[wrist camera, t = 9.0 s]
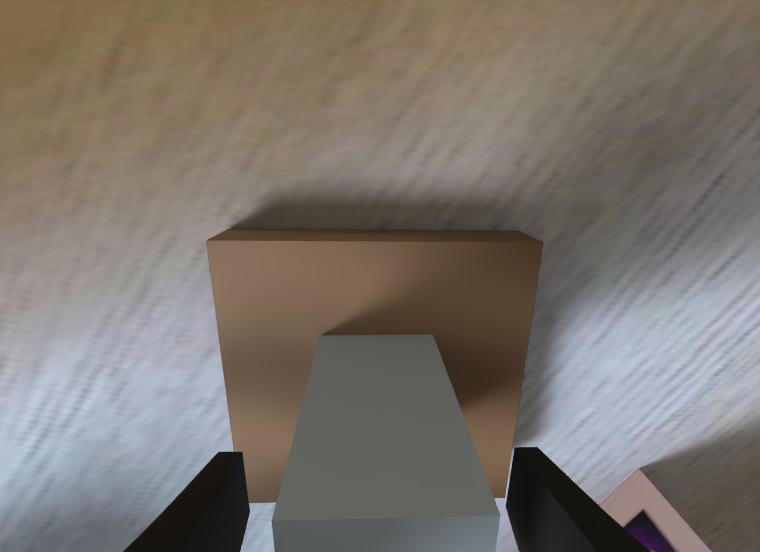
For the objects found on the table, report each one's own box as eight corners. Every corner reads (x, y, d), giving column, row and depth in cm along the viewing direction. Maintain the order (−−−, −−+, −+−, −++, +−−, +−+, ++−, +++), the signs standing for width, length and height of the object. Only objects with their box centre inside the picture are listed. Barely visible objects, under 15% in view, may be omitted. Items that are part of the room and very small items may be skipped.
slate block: (427, 427, 14) (479, 659, 8) (324, 429, 14) (287, 667, 8) (432, 334, 13) (499, 514, 7) (319, 335, 13) (271, 520, 6)
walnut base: (489, 460, 18) (504, 497, 16) (254, 464, 17) (240, 503, 15) (519, 230, 14) (543, 242, 12) (228, 228, 14) (205, 240, 12)
